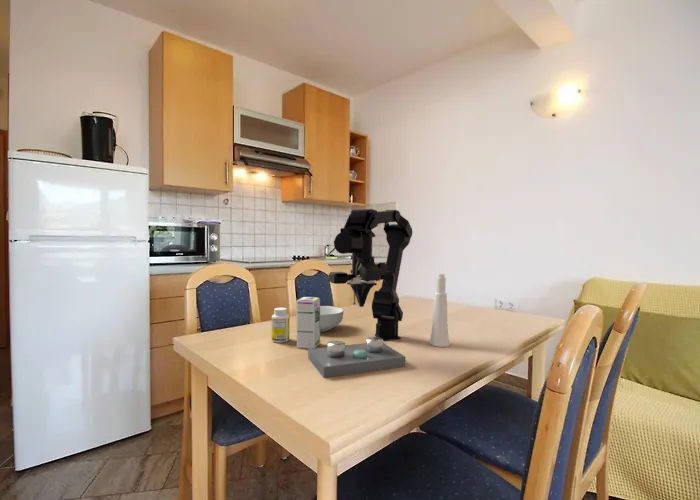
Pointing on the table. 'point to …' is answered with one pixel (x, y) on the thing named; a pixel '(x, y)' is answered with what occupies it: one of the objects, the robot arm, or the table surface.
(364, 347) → the panel
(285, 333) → the supplement bottle
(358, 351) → the teal flat disc
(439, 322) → the cosmetic bottle
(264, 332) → the table surface
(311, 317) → the syrup box
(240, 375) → the table surface
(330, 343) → the knob
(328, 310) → the cereal bowl
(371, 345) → the knob
